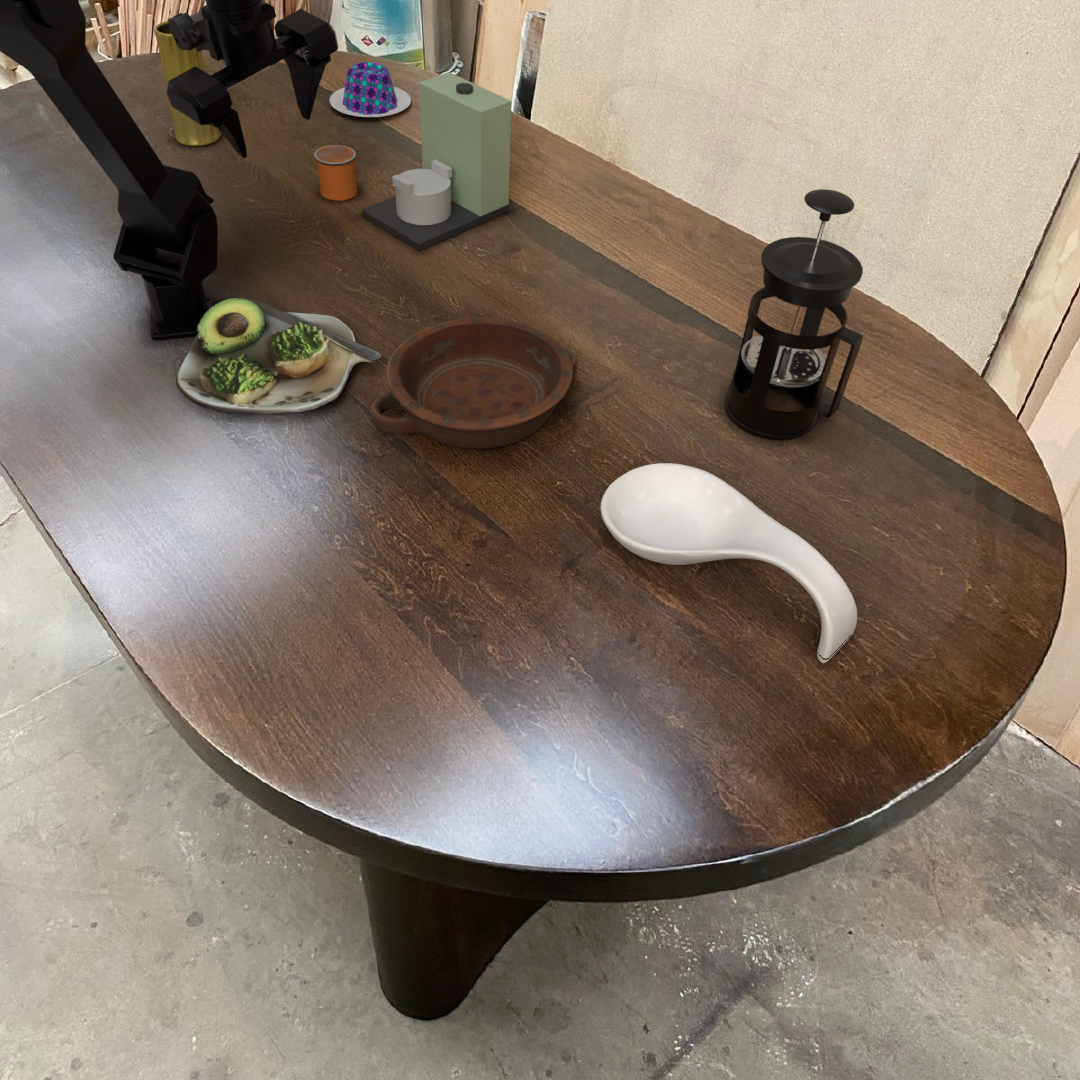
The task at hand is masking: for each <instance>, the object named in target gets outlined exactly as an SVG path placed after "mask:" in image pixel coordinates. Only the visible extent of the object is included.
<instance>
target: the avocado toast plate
mask: <svg viewBox="0 0 1080 1080" xmlns="http://www.w3.org/2000/svg"><path fill="white" fill-rule="evenodd" d="M381 357H382V354H381V353H380V352H379V351H377V350H376V349H374V348H371V347H368V346H366V345H363V344H362V343H359V342H357V341H356V338H355V335H354V332H353V331H352V330H351V329H350V328H349V326H348V325H347V324H345V322H343V321H341V320H340V319H339V318H337V317H335V316H331V315H327V314H317V313H307V312H306V313H305V312H304V313H303V312H292V311H291V312H289V311H282V310H280V309H277V308H274V307H273V306H272V305H271V304H268V303H265V302H262V301H259V300H255V299H253V298H252V299H251V298H244V297H243V298H242V297H233V298H226V299H225V298H224V299H222V300H221V301H219V302H217V303H215V304H213V306H212V307H211V308H210V309H208V310H207V311H206V312H205V314H204V315H203V316H202V318H201V319H200V321H199V324H198V326H197V336H195V338H194V339H193V341H192V344H191V346H190V348H189V350H188V352H187V355H186V356H185V357H184V360H183V362H182V364H181V366H180V367H179V370H178V373H177V375H176V377H175V385H176V387H177V388H178V390H179V391H180V393H182V395H183V396H185V397H186V399H188V401H190V402H192V403H194V404H195V405H197V406H199V407H200V408H201V407H202V408H204V409H208V410H212V411H215V412H219V413H224V414H248V415H250V414H251V415H259V414H260V415H261V414H265V415H270V414H271V415H272V414H274V415H275V414H286V413H287V414H288V413H302V412H307V411H312V410H316V409H318V408H321V407H323V406H326V405H327V404H329V403H331V402H333V401H334V400H336V399H337V398H338V397H339V396H340V395H341V393H342V391H343V390H344V389H345V386H346V385H347V382H348V380H349V376H350V373H351V372H352V370H353V368H354V367H355V366H356V365H357V364H360V363H376V362H377V361H379V360H380V359H382V358H381Z"/></svg>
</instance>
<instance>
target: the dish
mask: <svg viewBox="0 0 1080 1080" xmlns="http://www.w3.org/2000/svg"><path fill="white" fill-rule="evenodd" d="M577 370H578V358H577V355H576V354H575V353H573V352H572V351H570V350H568V349H566V348H564V346H563V345H562V344H560V342H558V341H557V340H556V339H554V338H553V337H551V335H550V336H549V335H548V334H546V333H545V332H543V331H540V330H538V329H537V328H534V327H532V326H530V325H528V324H525V323H522V322H518V321H515V320H509V319H503V318H498V317H497V318H496V317H489V316H488V317H487V316H472V317H463V318H456V319H452V320H447V321H443V322H440V323H436V324H433V325H431V326H427V327H426V328H424V329H422V330H419V331H417V332H415V333H414V334H412V335H410V336H409V337H407V338H406V339H405V340H404V341H402V343H400V345H398V347H397V348H395V350H394V351H393V353H392V354H391V356H390V358H389V359H388V362H387V367H386V379H387V388H388V390H387V391H386V392H384V393H382V394H381V395H379V396H378V397H377V398H376V399H375V401H373V403H372V405H371V409H370V411H371V415H372V416H371V417H372V422H373V424H374V425H375V426H376V428H378V429H379V430H382V431H383V432H385V433H390V434H395V435H399V434H400V435H402V434H403V435H404V434H407V435H408V434H422V435H424V436H427V437H430V439H433V440H434V441H437V442H440V443H442V444H446V445H448V446H451V447H455V448H461V449H469V450H471V449H472V450H477V449H478V450H482V449H483V450H485V449H495V448H500V447H506V446H509V445H512V444H515V443H517V442H521V441H523V440H525V439H526V438H528V437H530V436H531V435H533V434H535V432H537V431H539V430H540V429H541V428H542V427H543V426H544V424H545V423H546V422H547V421H548V420H549V418H550V417H551V415H552V414H553V413H554V411H555V409H556V407H557V406H558V404H559V403H560V401H561V400H562V399H563V398H564V397H565V396H566V394H567V392H568V391H569V390H570V387H571V385H572V383H573V378H574V377H575V375H576V374H577ZM395 409H400V410H402V411H403V412H404V415H403V416H401V417H392V416H387V415H385V414H383V413H385V412H388V411H390V410H395Z"/></svg>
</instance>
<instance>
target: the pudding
mask: <svg viewBox="0 0 1080 1080" xmlns="http://www.w3.org/2000/svg"><path fill="white" fill-rule="evenodd" d="M344 84H345V85H344V87H341V88H340V89H338V90H336V91H334V92H333V93H332V94H331V95H330V96H329V99H328V100H329V105H330V106H331V107H332V108H333V109H335V110H336V111H338V112H340V113H342V114H345V115H349V116H353V117H358V118H359V117H361V118H381V117H386V116H387V117H388V116H392V115H395V114H398V113H400V112H403V111H404V110H406V109H407V108H408V107H409V106H410V105H411V103H412V98H411V96H410V94H409V93H408V92H406V91H405V90H403V89H401V88H400V87H396V86H394V85H393V82H392V78H391V75H390V71H389V69H388V68H387V66H385V65H383V64H381V63H379V62H370V61H362V62H359V63H353V64H352V65H350V67H349V68H348V69H347V72H346V77H345V83H344Z"/></svg>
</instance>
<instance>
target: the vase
mask: <svg viewBox="0 0 1080 1080" xmlns="http://www.w3.org/2000/svg"><path fill="white" fill-rule="evenodd" d="M153 31H154V32H153V33H154V35H155V39H156V43H157V48H158V52H159V57H160V61H161V65H162V70H163V76H164V80H165V88H166V89H167V84H168V82H169V80H171V79H173V78H175V77H177V76H178V75H180V74H182V73H184V72H186V71H188V70H189V69H191V68H193V67H195V66H196V67H197V68H199V69H201V70H202V71H204V72H206V73H207V71H206V66H205V63H204V57H203V54H202V51H201V52H197V50H196V48H194V49H192V50H181V49H180V48H179V47H178V46H177V44H176V42H175V40H174V38H173V36H172V33H171V30H170V27H169V23H168V20H165V21H161V22H160V23H158V24H157V25H155V26H154V30H153ZM167 98H168V97H167ZM168 103H169V109H170V114H171V119H172V124H173V129H174V138H175V140H176V141H177V142H178V143H179V144H181V145H183V146H188V147H204V146H209V145H212V144H214V143H216V142H218V141H219V140H220V138H221V136H222V133H221V132H220V131H219V129H218V128H217V127H214V126H212V125H210V124H209V125H200V124H198V123H197V122H195V121H194V120H192V119H191V118H189V117H187V116H186V115H184V114H183V113H181V112H180V111H178V110H176V109H175V108H173V107H172V106H171V103H170V100H169V98H168Z"/></svg>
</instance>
